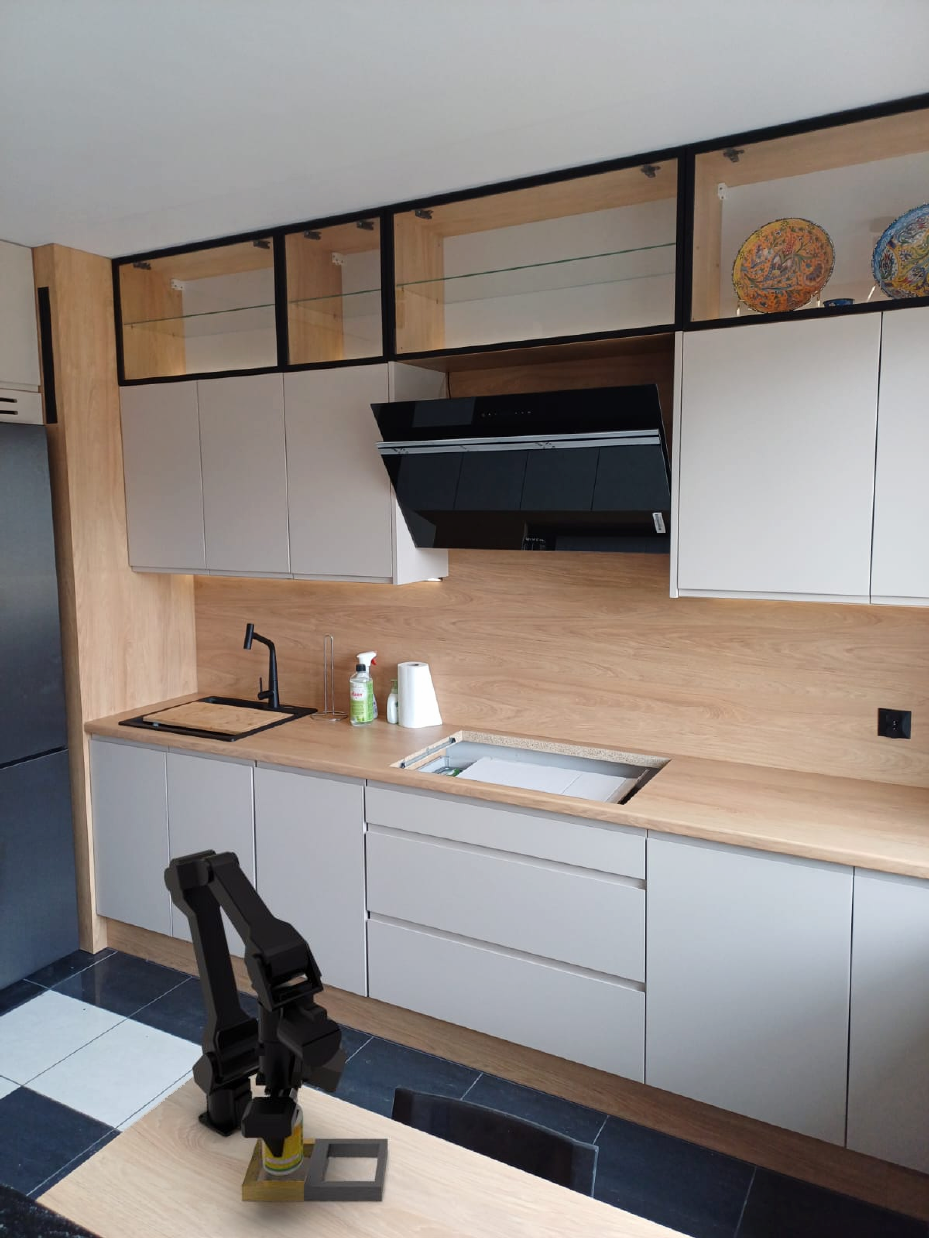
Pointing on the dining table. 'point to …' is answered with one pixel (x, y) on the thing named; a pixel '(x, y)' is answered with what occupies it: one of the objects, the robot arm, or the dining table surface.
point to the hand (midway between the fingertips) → (282, 1141)
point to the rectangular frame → (320, 1173)
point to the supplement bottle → (287, 1148)
